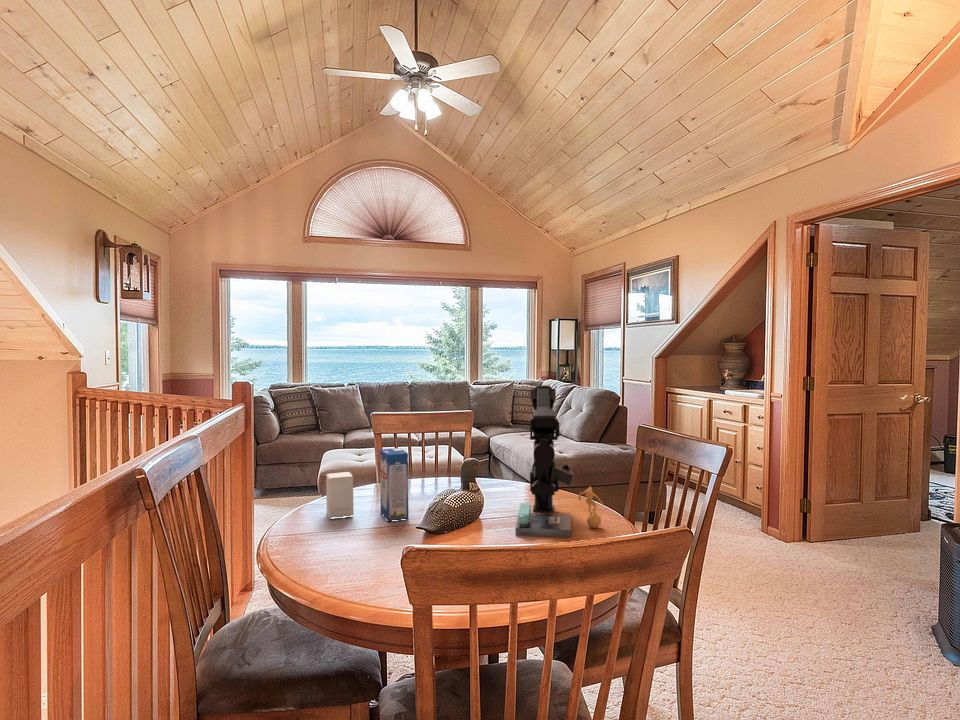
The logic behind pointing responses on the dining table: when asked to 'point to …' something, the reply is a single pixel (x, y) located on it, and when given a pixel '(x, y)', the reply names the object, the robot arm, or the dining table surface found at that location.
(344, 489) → the supplement box
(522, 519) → the swing bar
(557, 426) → the robot arm
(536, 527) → the server tray
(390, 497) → the milk carton
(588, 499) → the figurine
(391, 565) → the dining table surface
